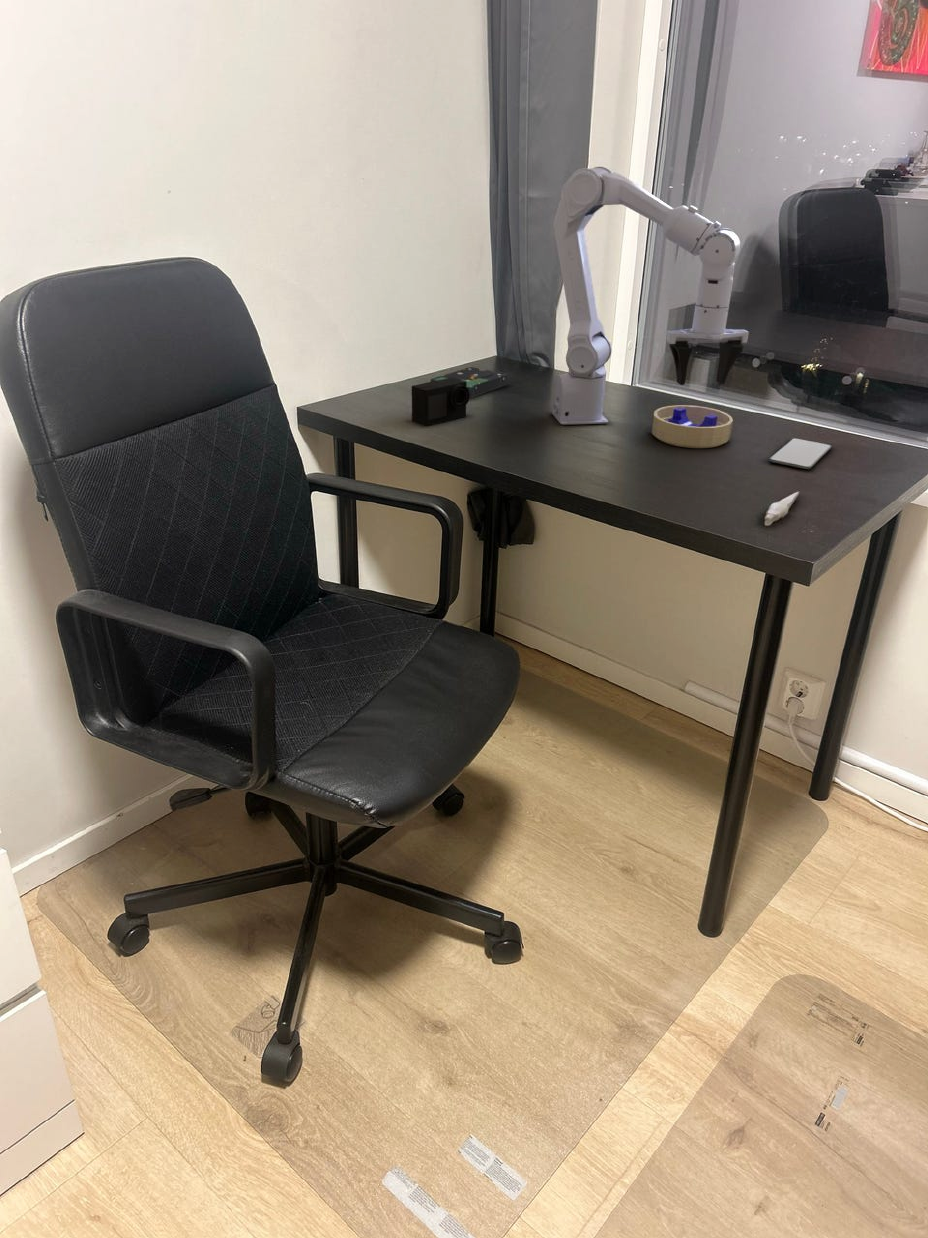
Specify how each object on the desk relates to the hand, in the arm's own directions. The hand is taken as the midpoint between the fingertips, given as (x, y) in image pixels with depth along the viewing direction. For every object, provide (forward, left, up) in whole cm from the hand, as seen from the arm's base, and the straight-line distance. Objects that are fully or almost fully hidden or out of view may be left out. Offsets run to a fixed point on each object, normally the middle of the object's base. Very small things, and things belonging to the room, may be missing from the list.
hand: (700, 383), depth 160 cm
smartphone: (+15, -13, -10) cm, 22 cm away
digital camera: (-46, +14, -10) cm, 49 cm away
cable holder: (-1, -1, -9) cm, 10 cm away
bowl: (-1, -1, -10) cm, 10 cm away
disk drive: (-37, +36, -10) cm, 52 cm away
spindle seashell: (0, -37, -10) cm, 39 cm away
